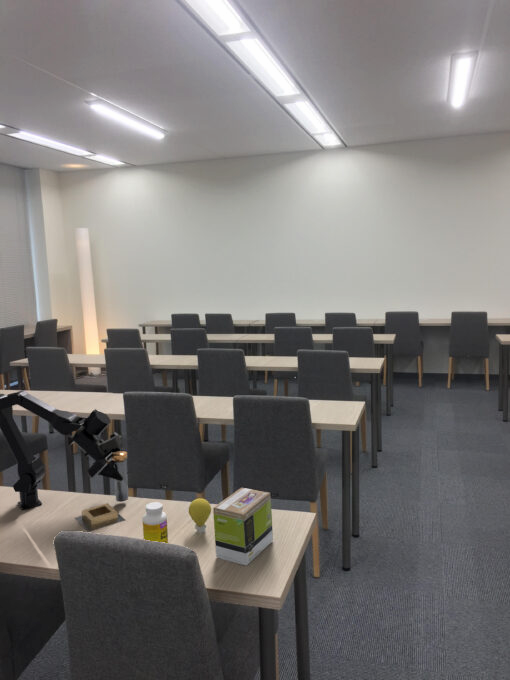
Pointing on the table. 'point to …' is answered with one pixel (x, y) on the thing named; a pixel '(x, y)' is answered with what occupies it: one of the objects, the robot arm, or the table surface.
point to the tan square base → (99, 517)
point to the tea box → (243, 525)
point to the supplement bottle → (155, 523)
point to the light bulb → (200, 513)
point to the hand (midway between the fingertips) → (124, 477)
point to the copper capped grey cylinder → (120, 466)
